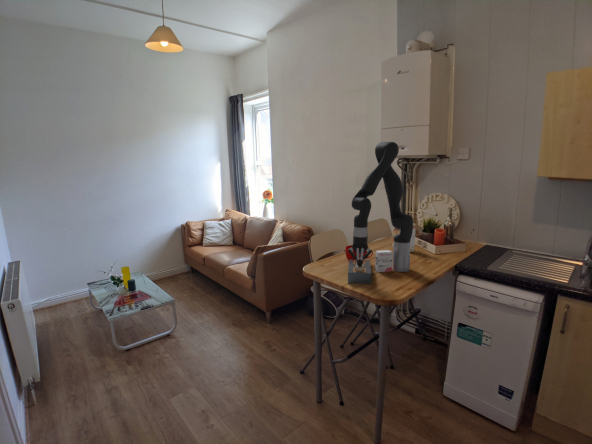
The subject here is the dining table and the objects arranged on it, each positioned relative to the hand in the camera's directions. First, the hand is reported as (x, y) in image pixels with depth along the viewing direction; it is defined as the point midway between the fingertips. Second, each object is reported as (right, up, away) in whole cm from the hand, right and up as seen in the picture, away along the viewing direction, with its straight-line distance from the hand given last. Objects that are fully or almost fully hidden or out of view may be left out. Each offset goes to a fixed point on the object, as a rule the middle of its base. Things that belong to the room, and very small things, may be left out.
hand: (359, 266), depth 176 cm
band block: (+1, -7, +7) cm, 10 cm away
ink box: (+17, -5, +16) cm, 24 cm away
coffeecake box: (+42, +4, +56) cm, 70 cm away
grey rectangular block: (0, -6, +1) cm, 6 cm away
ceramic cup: (+5, -2, +29) cm, 29 cm away
